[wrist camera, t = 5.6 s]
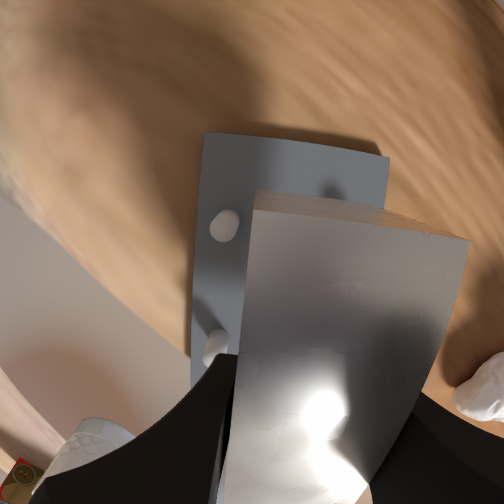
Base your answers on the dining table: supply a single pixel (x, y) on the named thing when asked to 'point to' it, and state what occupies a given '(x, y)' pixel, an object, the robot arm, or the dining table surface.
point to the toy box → (20, 483)
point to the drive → (332, 344)
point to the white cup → (87, 445)
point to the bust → (483, 392)
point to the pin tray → (241, 212)
